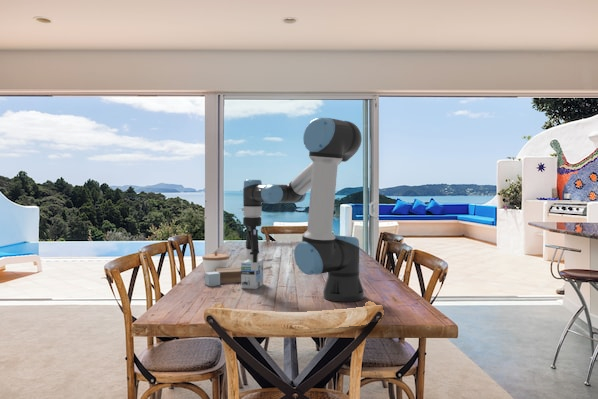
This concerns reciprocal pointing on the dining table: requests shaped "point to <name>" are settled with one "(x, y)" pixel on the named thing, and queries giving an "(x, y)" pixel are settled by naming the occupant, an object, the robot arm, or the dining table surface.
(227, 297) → the dining table surface
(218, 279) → the slate cube
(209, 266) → the lidded bowl
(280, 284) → the dining table surface
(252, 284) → the light bulb box
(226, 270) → the walnut block
